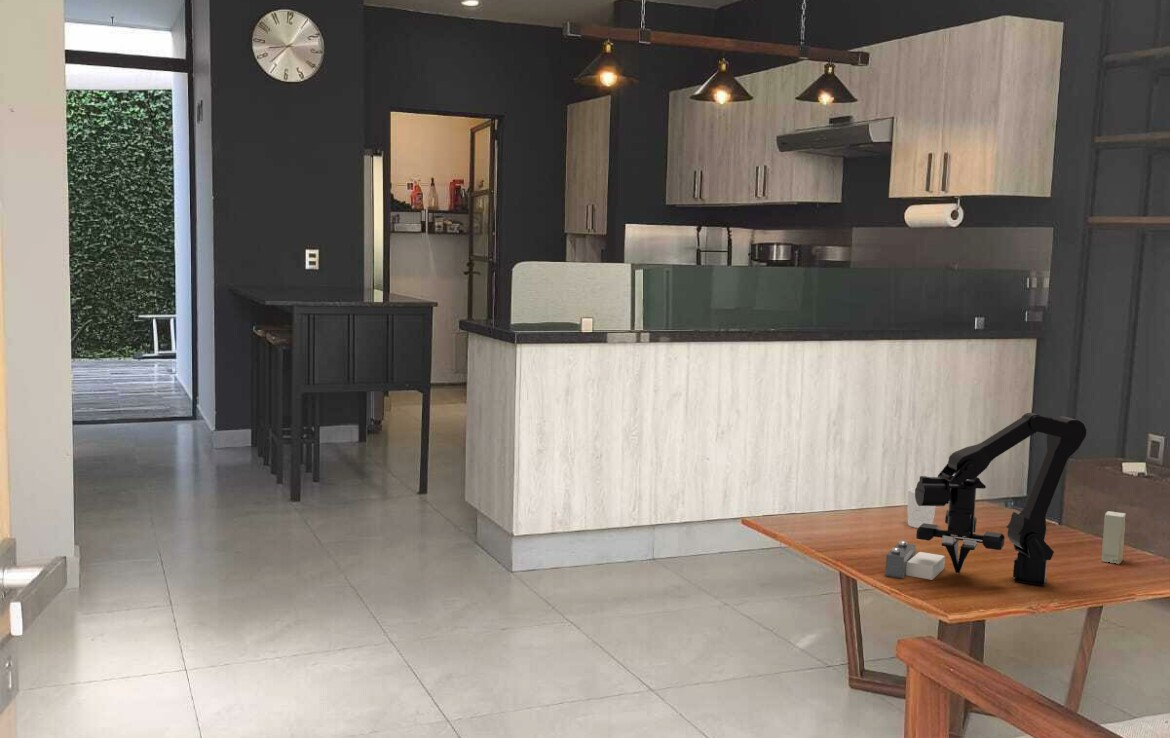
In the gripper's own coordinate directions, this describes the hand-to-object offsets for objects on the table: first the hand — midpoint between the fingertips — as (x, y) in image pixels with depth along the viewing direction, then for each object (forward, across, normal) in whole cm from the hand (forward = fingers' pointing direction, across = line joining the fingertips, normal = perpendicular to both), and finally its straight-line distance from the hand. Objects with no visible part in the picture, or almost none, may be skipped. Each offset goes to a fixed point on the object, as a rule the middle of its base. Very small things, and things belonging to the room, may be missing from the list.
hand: (957, 572), depth 253 cm
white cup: (+2, +19, -52) cm, 55 cm away
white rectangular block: (+2, +8, -2) cm, 8 cm away
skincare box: (+2, -30, -43) cm, 53 cm away
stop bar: (+1, +13, 0) cm, 13 cm away
